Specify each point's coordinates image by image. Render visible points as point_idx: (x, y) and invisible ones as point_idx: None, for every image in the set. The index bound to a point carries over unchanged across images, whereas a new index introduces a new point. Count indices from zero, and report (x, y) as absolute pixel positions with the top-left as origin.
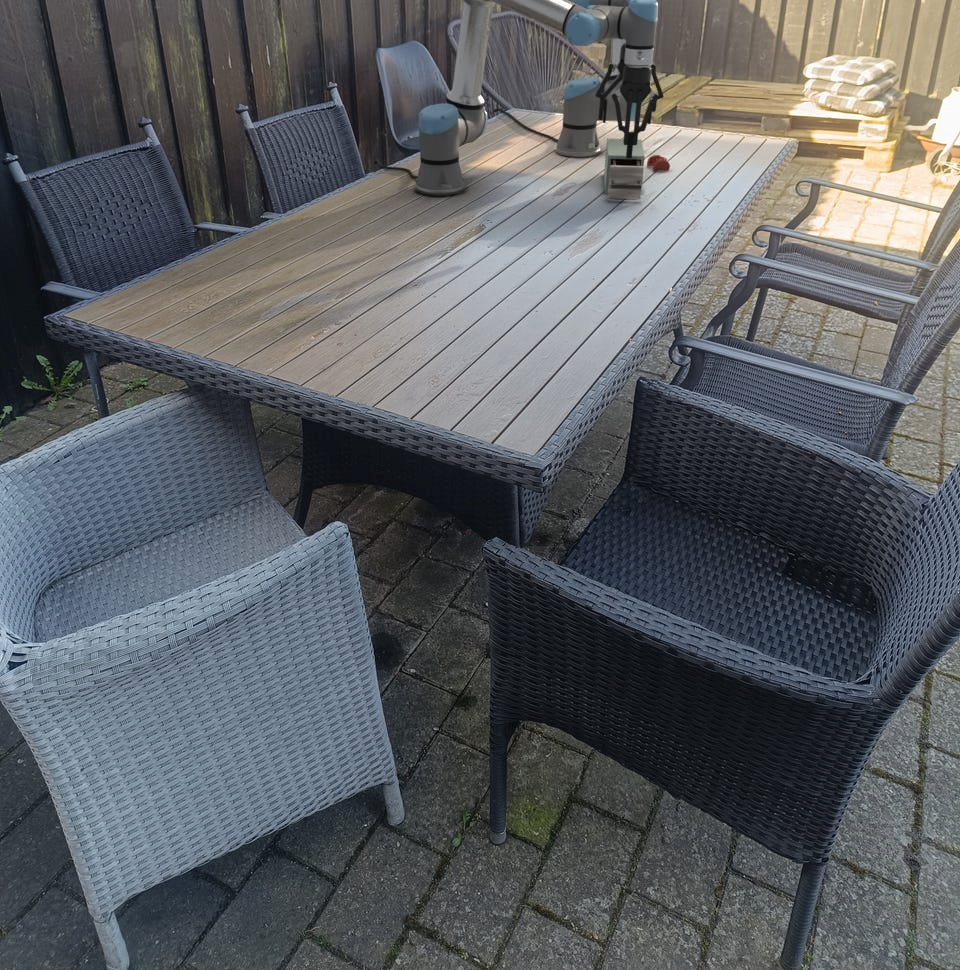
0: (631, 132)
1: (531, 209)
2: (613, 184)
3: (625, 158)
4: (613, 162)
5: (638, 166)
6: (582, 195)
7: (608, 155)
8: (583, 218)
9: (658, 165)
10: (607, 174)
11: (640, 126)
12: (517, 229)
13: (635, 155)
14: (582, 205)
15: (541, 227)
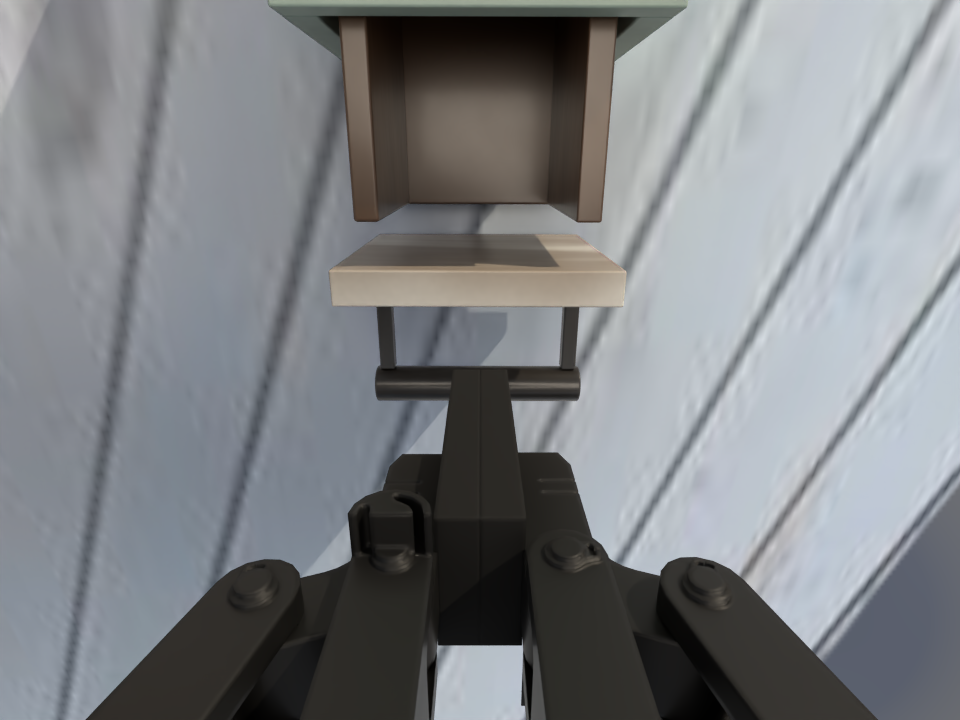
0: (485, 565)
1: (8, 422)
2: (391, 399)
3: (470, 13)
4: (351, 133)
5: (579, 289)
6: (220, 138)
7: (272, 6)
8: (286, 517)
9: None
10: (334, 48)
11: (653, 669)
12: (46, 652)
13: None
14: (252, 334)
15: (132, 626)
